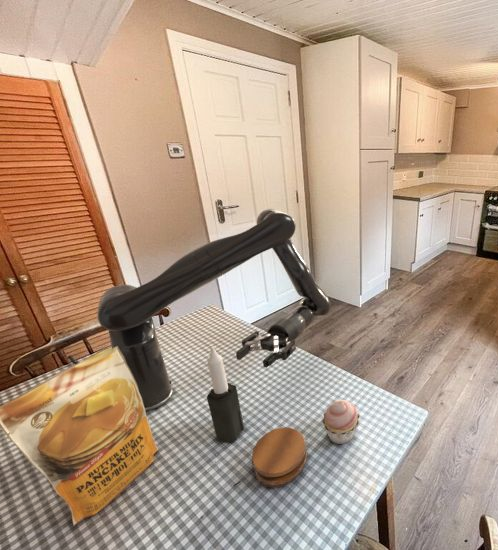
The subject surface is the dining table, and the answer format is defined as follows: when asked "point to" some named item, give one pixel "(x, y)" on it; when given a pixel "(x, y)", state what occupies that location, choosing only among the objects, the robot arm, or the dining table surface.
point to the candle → (223, 402)
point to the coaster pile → (279, 457)
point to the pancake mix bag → (84, 431)
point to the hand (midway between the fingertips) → (250, 360)
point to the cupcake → (341, 421)
